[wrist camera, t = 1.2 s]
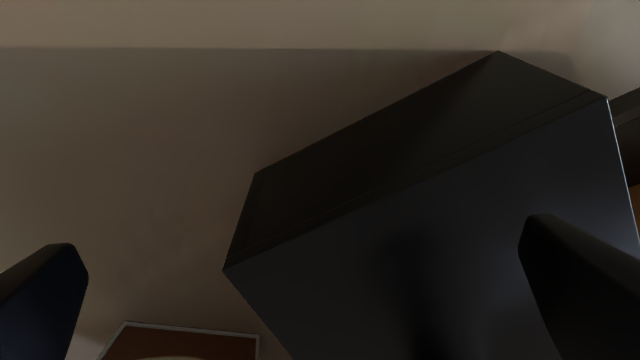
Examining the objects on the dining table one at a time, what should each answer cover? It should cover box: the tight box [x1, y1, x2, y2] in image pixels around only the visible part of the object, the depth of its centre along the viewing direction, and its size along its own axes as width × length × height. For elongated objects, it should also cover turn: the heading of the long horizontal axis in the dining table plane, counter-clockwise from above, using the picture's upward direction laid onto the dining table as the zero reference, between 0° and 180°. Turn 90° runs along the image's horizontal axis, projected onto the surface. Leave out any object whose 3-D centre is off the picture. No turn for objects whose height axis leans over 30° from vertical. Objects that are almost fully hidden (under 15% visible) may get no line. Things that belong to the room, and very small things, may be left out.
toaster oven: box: [222, 51, 640, 360], centre depth 21 cm, size 20×15×8 cm
